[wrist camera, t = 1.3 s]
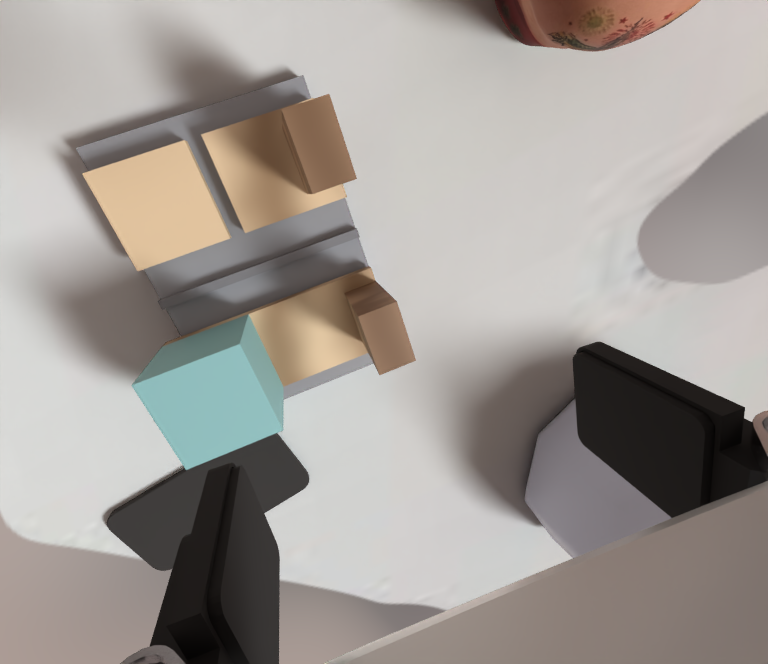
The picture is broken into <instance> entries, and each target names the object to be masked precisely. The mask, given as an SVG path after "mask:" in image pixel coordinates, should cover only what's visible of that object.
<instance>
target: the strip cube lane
mask: <svg viewBox="0 0 768 664" xmlns="http://www.w3.org/2000/svg"><path fill="white" fill-rule="evenodd" d="M247 314H249V316H250V318H251V320H252V322H253V324H254V326H255V328H256V330H257V333H258V335H259V337H260V339H261V341H262V343H263V345H264V347H265V349H266V351H267V353H268V355H269V358H270V360H271V362H272V364H273V366H274V368H275V370H276V372H277V374H278V376H279V378H280V381H281V383H282V385H283V387H284V386H287V385H289V384H292V383H294V382H297V381H299V380H302V379H304V378H307V377H309V376H312V375H314V374H317V373H319V372H322V371H324V370H327V369H329V368H332V367H334V366H337V365H339V364H342V363H344V362H347V361H349V360H352V359H354V358H357V357H359V356H362V355H364V354H367V353H368V354H369V355H370V357H371V359H372V361H373V363H374V365H375V367H376V369H377V371H378V373H379V375H381V374H384V373H386V372H389V371H391V370H394V369H396V368H399V367H401V366H403V365H406V364H408V363H411V362H413V361H416V359H415V356H414V353H413V350H412V347H411V344H410V341H409V338H408V335H407V332H406V328H405V325H404V322H403V319H402V316H401V313H400V310H399V307H398V304H397V301H396V300H395V299H394V298H393V297H392V296H390V295H389V294H388V293H387V292H386V291H385V290H384V289H383V288H382V287H381V286H380V285H379V284H378V283H377V282H376V281H375V278H374V275H373V272H372V269H371V267H369V266H368V267H365V268H362V269H360V270H357V271H354V272H352V273H349V274H346V275H344V276H341V277H338V278H336V279H333V280H330V281H328V282H325V283H322V284H320V285H317V286H314V287H312V288H309V289H306V290H304V291H301V292H299V293H296V294H293V295H291V296H288V297H285V298H283V299H280V300H277V301H275V302H272V303H269V304H267V305H264V306H261V307H259V308H256V309H253V310H251V311H248V312H245V313H243V314H240V315H237V316H235V317H232V318H229V319H227V320H224V321H221V322H219V323H216V324H213V325H211V326H208V327H205V328H203V329H200V330H197V331H195V332H192V333H189V334H187V335H184V336H181V337H179V338H176V339H173V340H171V341H168V342H166V343H165V344H164V345H163V346H165V345H168V344H170V343H173V342H176V341H178V340H181V339H184V338H186V337H189V336H192V335H194V334H197V333H200V332H202V331H205V330H208V329H210V328H213V327H215V326H218V325H221V324H223V323H226V322H229V321H231V320H234V319H237V318H239V317H242V316H245V315H247Z"/></svg>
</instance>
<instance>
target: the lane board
mask: <svg viewBox="0 0 768 664" xmlns="http://www.w3.org/2000/svg"><path fill="white" fill-rule="evenodd" d="M308 99H311V97H310V94H309V91H308V88H307V85H306V82H305V79H304V76H303V75H302V76H299V77H296V78H293V79H290V80H287V81H283V82H280V83H277V84H274V85H271V86H268V87H265V88H262V89H258V90H255V91H252V92H249V93H246V94H243V95H240V96H237V97H233V98H230V99H227V100H224V101H221V102H218V103H215V104H212V105H208V106H205V107H202V108H199V109H196V110H193V111H190V112H187V113H183V114H180V115H177V116H174V117H171V118H168V119H165V120H162V121H159V122H155V123H152V124H149V125H146V126H143V127H140V128H137V129H134V130H130V131H127V132H124V133H121V134H118V135H115V136H112V137H109V138H105V139H102V140H99V141H96V142H93V143H90V144H87V145H84V146H80V147H77V148H76V149H77V151H78V153H79V155H80V157H81V158H82V160H83V162H84V164H85V166H86V167H87V169H88V172H85V173H82V174H83V176H84V178H85V180H86V181H87V183H88V185H89V187H90V188H91V190H92V192H93V194H94V196H95V197H96V199H97V201H98V203H99V204H100V206H101V208H102V210H103V211H104V213H105V215H106V217H107V218H108V220H109V222H110V224H111V225H112V227H113V229H114V231H115V233H116V234H117V236H118V238H119V240H120V241H121V243H122V245H123V247H124V248H125V250H126V252H127V254H128V255H129V257H130V259H131V261H132V262H133V264H134V266H135V268H136V269H137V271H140V270H143V269H144V271H145V273H146V274H147V276H148V278H149V280H150V281H151V283H152V285H153V287H154V289H155V290H156V292H157V294H158V296H159V298H160V300H159V301H158V302H159V304H160V306H161V308H162V310H163V309H165V308H166V310H167V312H168V314H169V315H170V317H171V319H172V321H173V322H174V324H175V326H176V328H177V330H178V331H179V333H180V335H181V336H184V335H187V334H189V333H192V332H195V331H197V330H200V329H203V328H205V327H208V326H211V325H213V324H216V323H219V322H221V321H224V320H227V319H229V318H232V317H235V316H237V315H240V314H243V313H245V312H248V311H251V310H253V309H256V308H259V307H261V306H264V305H267V304H269V303H272V302H275V301H277V300H280V299H283V298H285V297H288V296H291V295H293V294H296V293H299V292H301V291H304V290H306V289H309V288H312V287H314V286H317V285H320V284H322V283H325V282H328V281H330V280H333V279H336V278H338V277H341V276H344V275H346V274H349V273H352V272H354V271H357V270H360V269H362V268H365V267H368V263H367V260H366V258H365V255H364V252H363V249H362V246H361V243H360V240H359V234H358V231H357V229H356V228H355V225H354V222H353V220H352V217H351V214H350V211H349V208H348V205H347V202H346V199H345V198H343V199H340V200H337V201H334V202H331V203H329V204H326V205H323V206H320V207H317V208H315V209H312V210H309V211H306V212H303V213H301V214H298V215H295V216H292V217H289V218H287V219H284V220H281V221H278V222H275V223H272V224H270V225H267V226H264V227H261V228H258V229H256V230H253V231H250V232H247V233H245V232H244V230H243V227H242V225H241V223H240V221H239V218H238V216H237V214H236V212H235V210H234V207H233V205H232V203H231V201H230V198H229V196H228V194H227V192H226V189H225V187H224V185H223V183H222V180H221V178H220V176H219V174H218V171H217V169H216V167H215V165H214V163H213V160H212V158H211V156H210V154H209V151H208V149H207V147H206V145H205V142H204V140H203V138H202V136H201V134H204V133H207V132H210V131H214V130H217V129H220V128H223V127H226V126H229V125H232V124H235V123H238V122H241V121H244V120H247V119H250V118H253V117H256V116H259V115H262V114H266V113H269V112H272V111H275V110H278V109H281V108H284V107H287V106H290V105H293V104H296V103H299V102H302V101H305V100H308ZM371 364H373V361H372V359H371V357H370V355H369V354H368V353H367V354H364V355H362V356H359V357H357V358H354V359H352V360H349V361H347V362H344V363H342V364H339V365H337V366H334V367H332V368H329V369H327V370H324V371H322V372H319V373H317V374H314V375H312V376H309V377H307V378H304V379H302V380H299V381H297V382H294V383H292V384H289V385H287V386H284V387H283V400H284V399H286V398H289V397H291V396H294V395H296V394H299V393H301V392H304V391H306V390H309V389H311V388H314V387H316V386H319V385H321V384H324V383H326V382H329V381H331V380H334V379H336V378H339V377H341V376H344V375H346V374H349V373H351V372H354V371H356V370H359V369H361V368H364V367H366V366H369V365H371Z"/></svg>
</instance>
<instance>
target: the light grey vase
mask: <svg viewBox="0 0 768 664" xmlns="http://www.w3.org/2000/svg"><path fill="white" fill-rule="evenodd" d="M525 502H526V503H527V505H528V506H529V507H530V509H531V510H532V511H533V513H534V514H535V515H536V517H537V518H538V519H539V521H540V522H541V524H542V525H543V526H544V528H545V529H546V530H547V532H548V533H549V534H550V536H551V537H552V538H553V539H554V540H555V541H556V542H557V543H558V544H559V545H560V546H561V547H562V548H563V549H564V550H565V551H566V552H567V553H568V554H569V555H570V556H571V557H572V558H575V557H578V556H580V555H583V554H585V553H587V552H590V551H592V550H595V549H597V548H600V547H602V546H605V545H607V544H609V543H612V542H614V541H617V540H619V539H622V538H624V537H627V536H629V535H632V534H634V533H637V532H639V531H642V530H644V529H646V528H649V527H651V526H654V525H656V524H659V523H661V522H664V521H666V520H669V519H671V517H670V516H669V515H667V514H666V513H665V512H664V511H663V510H661V509H660V508H659V507H658V506H657V505H655V504H654V503H653V502H652V501H651V500H649V499H648V498H647V497H646V496H644V495H643V494H642V493H641V492H640V491H638V490H637V489H636V488H635V487H634V486H632V485H631V484H630V483H629V482H627V481H626V480H625V479H624V478H623V477H621V476H620V475H619V474H618V473H617V472H615V471H614V470H613V469H612V468H610V467H609V466H608V465H607V464H606V463H604V462H603V461H602V460H601V459H600V458H598V457H597V456H596V455H595V454H593V453H592V452H591V451H590V450H589V449H587V448H586V447H585V446H584V445H583V444H582V443H581V441H580V439H579V437H578V433H577V418H576V402H575V398H574V399H573V400H572V401H571V402H570V403H569V404H568V405H567V406H566V407H565V408H564V409H563V410H562V411H561V412H560V413H559V414H558V415H557V416H556V417H555V418H554V419H553V420H552V421H551V422H550V423H549V424H548V425H547V426H546V427H545V428H544V429H543V430H542V431H541V432H540V433H539V434H538V438H537V442H536V446H535V451H534V455H533V459H532V464H531V468H530V473H529V477H528V481H527V486H526V493H525Z"/></svg>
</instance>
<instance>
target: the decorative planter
mask: <svg viewBox="0 0 768 664" xmlns="http://www.w3.org/2000/svg"><path fill="white" fill-rule="evenodd" d="M699 1H700V0H495V3H496V6H497V9H498V11H499V14H500V16H501V18H502V20H503V22H504V23H505V25H506V27H507V28H508V29H509V31H510V32H511V33H512V34H513V36H514V37H515V38H516V39H517V40H519V41H520V42H522V43H523V44H525V45H529V46H543V47H554V48H561V49H567V48H570V49H575V50H582V51H603V50H607V49H611V48H615V47H619V46H622V45H625V44H628V43H631V42H633V41H636V40H638V39H641V38H643V37H645V36H647V35H649V34H651V33H653V32H655V31H657V30H659V29H661V28H663V27H664V26H666V25H668V24H669V23H671V22H672V21H674V20H675V19H677V18H678V17H680V16H681V15H682V14H684V13H685V12H687V11H688V10H689V9H691V8H692V7H693V6H695V5H696V4H697V3H698V2H699Z"/></svg>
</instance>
